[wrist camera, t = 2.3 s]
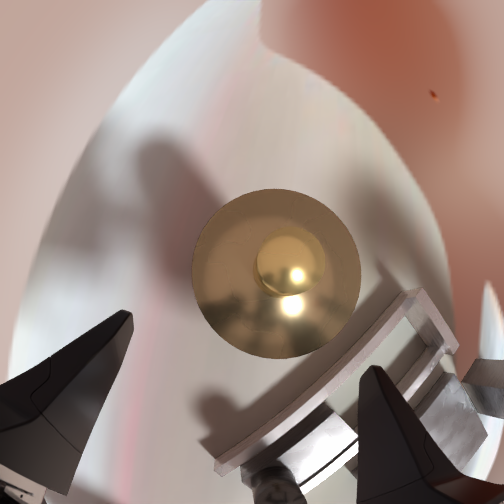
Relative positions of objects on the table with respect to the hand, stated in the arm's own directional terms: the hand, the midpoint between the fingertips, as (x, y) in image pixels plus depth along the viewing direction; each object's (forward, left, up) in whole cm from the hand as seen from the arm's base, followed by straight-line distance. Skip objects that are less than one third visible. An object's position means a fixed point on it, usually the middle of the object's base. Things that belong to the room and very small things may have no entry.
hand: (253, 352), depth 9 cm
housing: (+2, +2, -10) cm, 10 cm away
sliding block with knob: (-3, -9, -10) cm, 14 cm away
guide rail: (+2, -9, -10) cm, 14 cm away
